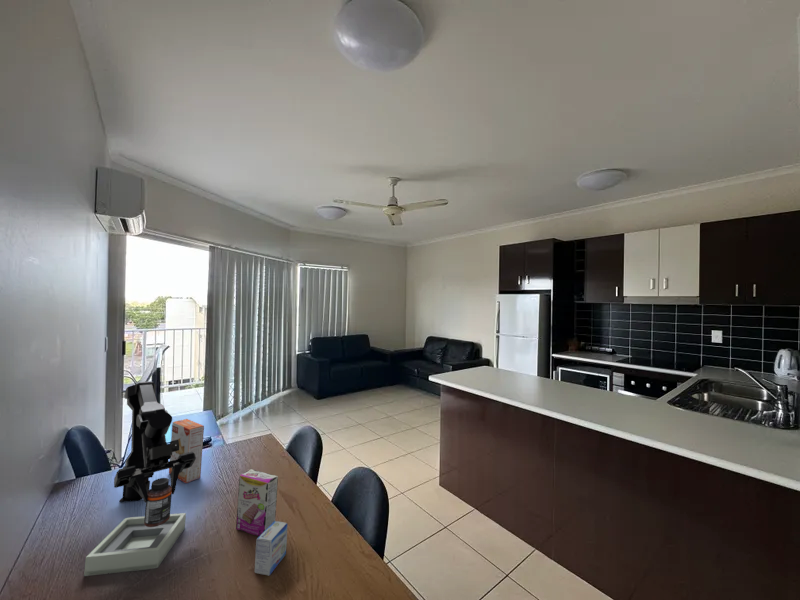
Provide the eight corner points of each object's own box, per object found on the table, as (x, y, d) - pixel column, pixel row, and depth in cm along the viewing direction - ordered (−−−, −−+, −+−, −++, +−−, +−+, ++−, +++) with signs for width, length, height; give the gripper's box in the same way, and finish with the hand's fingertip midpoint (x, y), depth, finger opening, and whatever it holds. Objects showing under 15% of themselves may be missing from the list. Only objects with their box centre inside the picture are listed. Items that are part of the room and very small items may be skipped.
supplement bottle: (152, 515, 94) (155, 475, 95) (174, 514, 95) (177, 475, 96) (138, 528, 88) (142, 486, 89) (162, 527, 89) (166, 485, 90)
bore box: (83, 576, 79) (85, 557, 79) (124, 533, 95) (125, 517, 95) (157, 568, 83) (159, 549, 83) (184, 528, 98) (185, 513, 98)
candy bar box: (234, 530, 98) (238, 475, 99) (247, 520, 103) (250, 468, 104) (263, 539, 95) (267, 482, 96) (275, 529, 99) (279, 475, 100)
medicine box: (269, 577, 81) (271, 541, 82) (253, 573, 82) (256, 538, 83) (286, 554, 89) (288, 522, 90) (271, 551, 90) (273, 519, 90)
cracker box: (167, 473, 130) (171, 421, 132) (183, 468, 136) (187, 418, 137) (184, 484, 123) (188, 428, 124) (200, 478, 128) (205, 424, 129)
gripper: (119, 440, 89) (122, 497, 81) (196, 425, 102) (205, 473, 94) (112, 459, 93) (114, 516, 85) (187, 443, 107) (194, 490, 99)
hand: (160, 497), depth 91 cm, fingers closed on supplement bottle, 6 cm apart
